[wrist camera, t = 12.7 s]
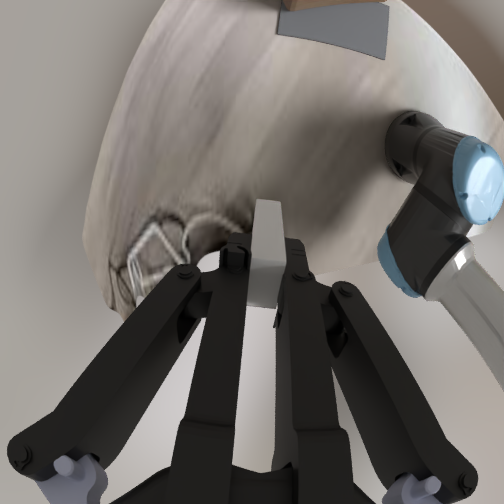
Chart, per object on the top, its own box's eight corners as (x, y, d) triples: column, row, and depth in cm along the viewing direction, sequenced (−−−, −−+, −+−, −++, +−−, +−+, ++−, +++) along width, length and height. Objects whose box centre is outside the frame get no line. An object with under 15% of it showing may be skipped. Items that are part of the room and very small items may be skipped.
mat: (388, 6, 28) (389, 6, 28) (384, 60, 35) (384, 59, 35) (284, -20, 28) (284, -21, 28) (277, 34, 35) (277, 34, 35)
